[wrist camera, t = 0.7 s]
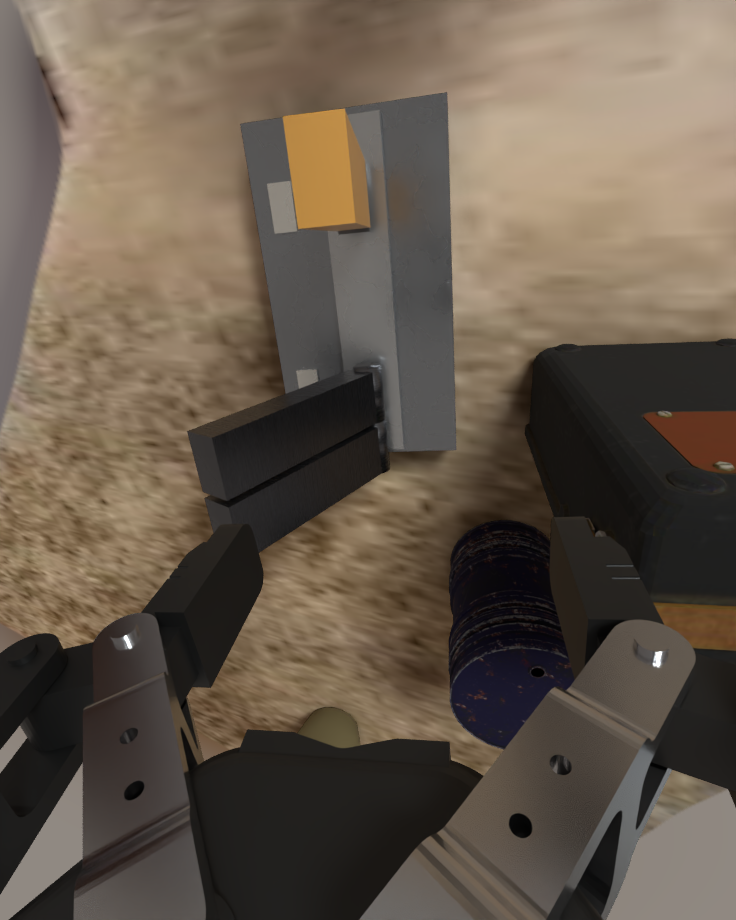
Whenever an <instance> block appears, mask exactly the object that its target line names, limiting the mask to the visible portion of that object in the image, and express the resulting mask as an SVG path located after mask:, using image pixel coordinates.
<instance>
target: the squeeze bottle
mask: <svg viewBox="0 0 736 920" xmlns="http://www.w3.org/2000/svg"><path fill="white" fill-rule="evenodd" d="M297 734H300V735H303V736H306V737H309V738H312V739H315V740H317V741H320V742H323V743H326V744H329V745H332V746H335V747H338V748H349V747H354V746H360V738H359V731H358V726H357V722H356V721H355V720H354V719H353V717H352V716H351V715H349V714H347V713H346V712H344V711H342V710H339V709H336V708H322V709H318V710H316V711H315V712H314V713H312V714H311V715H310V717H309V718H308V719H307V721H306V722H305V724H304V725H303V726H302V728H301V729H300V730H299V732H298V733H297Z"/></svg>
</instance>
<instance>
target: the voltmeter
mask: <svg viewBox="0 0 736 920" xmlns="http://www.w3.org/2000/svg"><path fill="white" fill-rule="evenodd" d="M525 436H526V438H527V441H528V444H529V447H530V450H531V453H532V455H533V458H534V461H535V464H536V467H537V469H538V472H539V475H540V478H541V481H542V484H543V486H544V489H545V492H546V495H547V498H548V501H549V503H550V506H551V509H552V512H553V515H554V517H582V516H584V517H585V518H586V520H587V522H588V525H589V527H590V529H591V532H592V534H593V536H594V537H603V536H610V537H611V538H612V539H613V540H615V541H616V542H617V543H618V544H620V545H621V546H622V547H623V548H625V549H626V551H627V553H628V555H629V557H630V559H631V561H632V563H633V567H635V568H636V570H637V572H638V574H639V576H640V580H642V582H643V584H644V586H645V588H646V590H647V592H648V594H649V596H650V598H651V600H652V601H653V603H654V605H655V607H656V609H657V611H658V613H659V615H660V617H661V619H662V621H663V623H664V625H665V626H668V627H670V628H672V629H673V630H675V631H677V632H678V633H680V634H681V635H682V636H683V637H684V638H685V639H686V640H687V641H688V642H689V643H690V644H691V646H692V648H693V650H694V652H696V653H698V654H701V655H703V656H706V657H708V658H712V659H715V660H719V661H723V662H727V663H731V664H735V665H736V339H721V340H719V341H714V342H683V343H651V344H619V345H588V346H577V345H574V344H562V345H559V346H557V347H552V348H547V349H546V350H544V351H542V352H540V353H539V354H538V355H537V356H536V358H535V360H534V365H533V379H532V394H531V408H530V422H529V424H527V425H526V427H525Z"/></svg>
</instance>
